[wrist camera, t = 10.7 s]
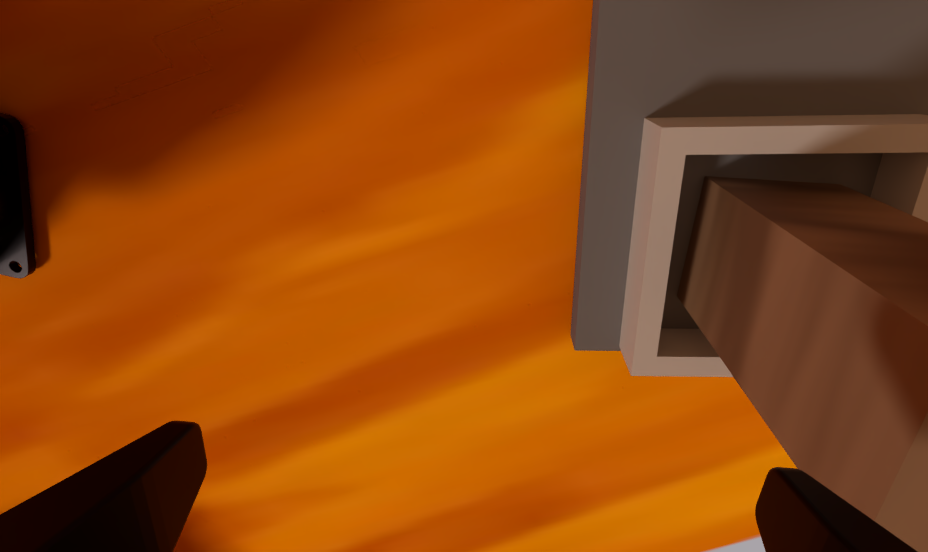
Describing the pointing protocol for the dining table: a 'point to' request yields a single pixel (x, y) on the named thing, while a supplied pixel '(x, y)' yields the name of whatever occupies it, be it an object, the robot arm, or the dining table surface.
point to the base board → (730, 141)
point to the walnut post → (823, 332)
